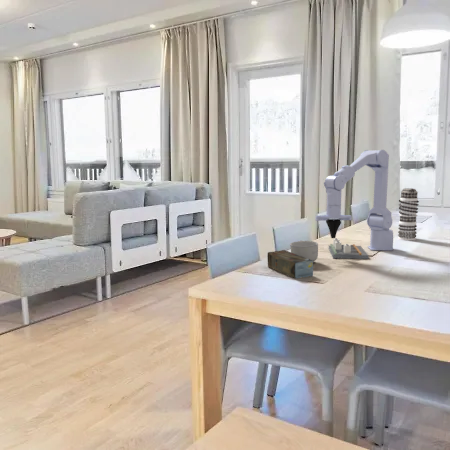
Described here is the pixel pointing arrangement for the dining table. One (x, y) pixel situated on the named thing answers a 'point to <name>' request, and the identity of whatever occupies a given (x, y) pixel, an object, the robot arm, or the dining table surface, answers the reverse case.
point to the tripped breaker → (347, 248)
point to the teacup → (305, 249)
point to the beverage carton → (290, 264)
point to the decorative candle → (408, 214)
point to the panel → (356, 253)
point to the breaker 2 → (337, 245)
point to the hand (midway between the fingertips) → (333, 237)
